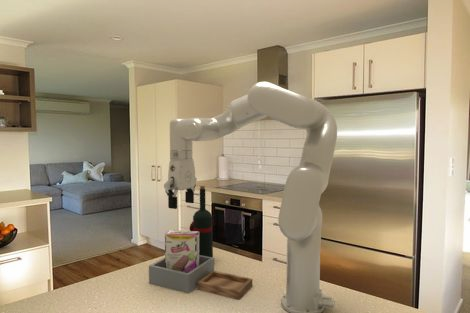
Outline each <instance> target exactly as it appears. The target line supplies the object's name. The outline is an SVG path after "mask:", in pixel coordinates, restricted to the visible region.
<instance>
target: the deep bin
mask: <svg viewBox="0 0 470 313" xmlns="http://www.w3.org/2000/svg"><path fill="white" fill-rule="evenodd" d="M212 271H215V258H214V257H213V258H212V257H207V256H202V255H199V266H198V267H196V268H195V269H193V270H192V271H190V272H189V273H185V272H181V271H176V270H172V269H167V268H165V257H163V258H161V259H159V260H157V261H155V262H153V263H152V264H149V265H148V283H149V284H151V285H154V286H155V285H156V286H159V287H162V288H167V289H170V290H174V291H177V292H178V291H179V292H182V293H186V294H190V293H191V292H193V291H194V290H195V289H197V282H198V281H199V280H201V279H202V278H203V277H205V276H206V275H208V274H209V273H210V272H212Z"/></svg>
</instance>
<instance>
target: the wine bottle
mask: <svg viewBox="0 0 470 313" xmlns="http://www.w3.org/2000/svg"><path fill="white" fill-rule="evenodd" d="M199 187H200V188H199V209H198V210H197V211H196V212H194V214H193V216H192V221H191V223H190V225H189V231H198V232H199V255H202V256H207V257H212V258H214V252H213V251H214V250H213V249H214V247H213V246H214V245H213V244H214V242H213V236H214V235H213V215H212V213H211V212H210V210H208V209H206V185H199Z"/></svg>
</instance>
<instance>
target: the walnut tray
mask: <svg viewBox="0 0 470 313" xmlns="http://www.w3.org/2000/svg"><path fill="white" fill-rule="evenodd" d="M252 287H253V278H250V277H245V276H240V275H235V274H231V273H227V272H221V271H217V270H214V271H212V272H210V273H209V274H208V275H206V276H205V277H203V278H202V279H201V280H199V281H198V282H197V288H196V289H197V290H199V291H202V292H206V293H211V294H213V295H214V294H215V295H219V296H221V297H222V296H223V297H227V298H231V299H235V300H238V301H239V300H241V299H242V298H243V297H244V295H246V293H247V292H249V290H251V288H252Z"/></svg>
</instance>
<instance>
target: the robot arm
mask: <svg viewBox="0 0 470 313" xmlns="http://www.w3.org/2000/svg"><path fill="white" fill-rule="evenodd" d="M265 118H270V119H273V120H275V121H277V122H280V123H283V124H285V125H286V126H289V127H291V128H294V129H300V130H305V131H306V137H305V141H304V143H303V147H302V153H301V157H300V160H299V161H300V162H299V164H298V166H296V167H294V168H293V169H292V170H290V172H289V174H288V176H287V178H286V181H285V183H284V184H285V185H284V188H283V193H282V198H281V203H280V208H279V212H278V220H277V222H278V228H279V229H280V232H281V233H282V234H283V236H285V237H286V239H287V240H286V243H287V244H286V281H285V282H286V284H285V285H286V288H285V289H286V293H285V294H283V295H282V296H281V298H280V304H281V307H282V308H283V309H284V310H285V311H287V312H288V313H322V312H323V311H324V310H325V307H327V308H332V309H335V305H336V304H335V303H336V302H335V300H333V297H332V296H327V295H324V294H323V289H321V288H320V287H321V286H320V283H321V282H320V280H321V278H320V277H321V247H322V246H321V244H322V243H321V241H322V240H321V239H322V229H323V211H322V208H321V207H320V200H321V197H322V194H323V193H324V192H325V190H326V189H327V187H328V186H329V179H330V173H331V168H332V165H333V160H334V155H335V149H336V145H337V137H338V126H337V123H336V120H335V117H334V115H333V114H332V112H331V111H330V110H329V109H328V108H327V106H325V105H324V104H323V103H321V102H319V101H318V100H316V99H313V98H311V97H307V96H305V95H303V94H299V93H296V92H294V91H292V90H289V89H286V88H284V87H281V86H279V85H277V84H275V83H273V82H270V81H265V80H264V81H259V82H256V83H254V85H252V87H250V89H249V91H248V92H247V94H245V95H242V96H240V97H238V98H236V99H233V100H232V101H230V103H229V108H228V109H227V110H226V111H224V112H223V113H220V114H218V115H215V116H214V117H213V116H212V117H210V118H208V117H207V118H206V117H191V118H172V119H171V120H170V122H169V163H168V175H167V176H168V177H167V178H168V179H167V180H166V182H165V183H164V184H163V188H164V190H165V194H166V196H167V198H168V199H167V200H168V202H167V203H168V206H167V208H169V209H171V210H172V209H174V210H177V209H178V196H177V195H178V193H179V191H185V203H186V204H188V203H189V204H194V202H195V197H194V196H195V193H194V192H195V187H196V186H197V181H198V178H197V177H196V170H195V161H194V158H193V142H207V141H215V140H217V139H220V138H223V137H226V136H227V135H230V134H232V133H234V132H236V131H238V130H239V129H242V128H243V127H245V126H248V125H250V124H253V123H255V122H258V121H260V120H263V119H265Z"/></svg>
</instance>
